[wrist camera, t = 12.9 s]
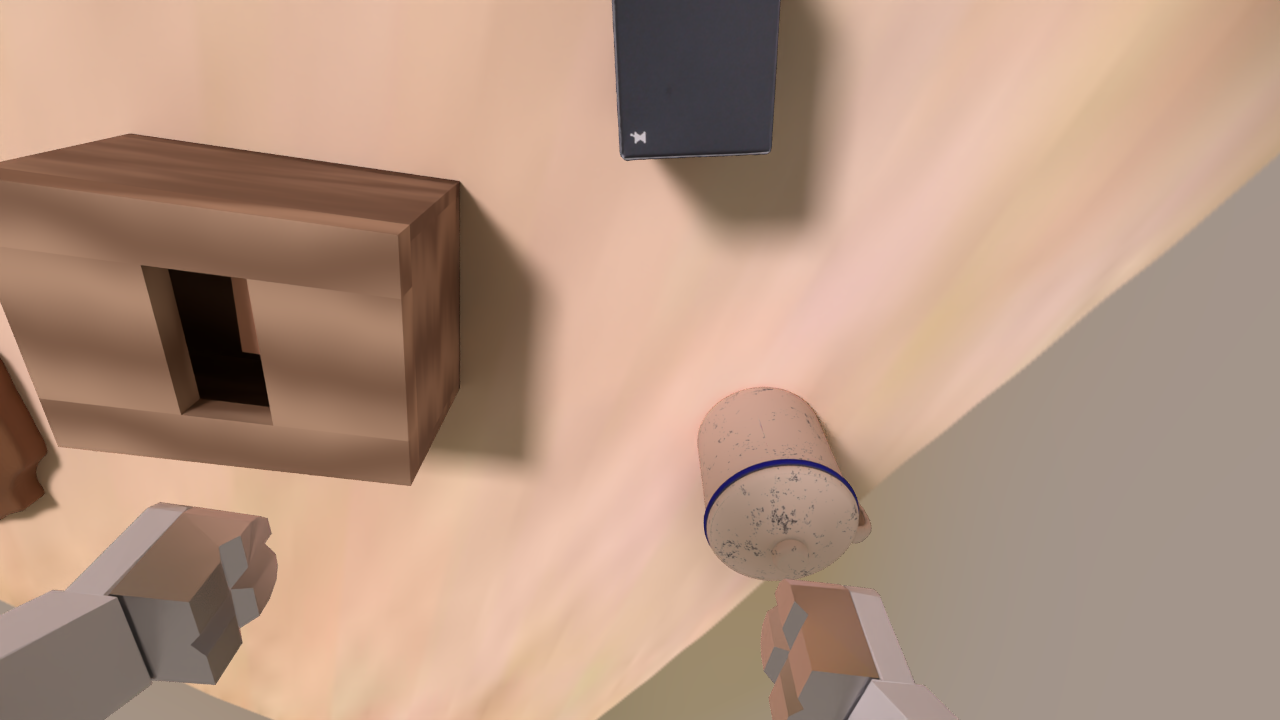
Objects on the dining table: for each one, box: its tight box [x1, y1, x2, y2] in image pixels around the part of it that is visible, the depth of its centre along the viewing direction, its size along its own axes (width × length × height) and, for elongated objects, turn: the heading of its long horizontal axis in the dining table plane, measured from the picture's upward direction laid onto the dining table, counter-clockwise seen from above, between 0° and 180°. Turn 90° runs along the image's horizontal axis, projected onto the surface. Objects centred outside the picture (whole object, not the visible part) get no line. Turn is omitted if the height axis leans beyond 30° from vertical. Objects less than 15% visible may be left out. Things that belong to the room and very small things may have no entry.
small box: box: [612, 0, 781, 161], centre depth 26 cm, size 11×6×10 cm, turn 2°
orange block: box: [231, 277, 260, 354], centre depth 35 cm, size 5×2×5 cm, turn 170°
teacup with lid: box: [697, 387, 871, 581], centre depth 39 cm, size 12×9×12 cm
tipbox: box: [0, 134, 460, 486], centre depth 33 cm, size 14×18×10 cm
